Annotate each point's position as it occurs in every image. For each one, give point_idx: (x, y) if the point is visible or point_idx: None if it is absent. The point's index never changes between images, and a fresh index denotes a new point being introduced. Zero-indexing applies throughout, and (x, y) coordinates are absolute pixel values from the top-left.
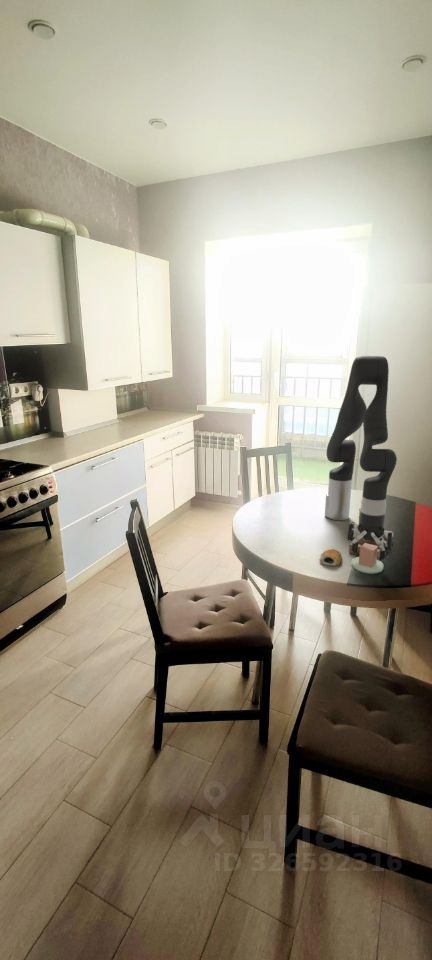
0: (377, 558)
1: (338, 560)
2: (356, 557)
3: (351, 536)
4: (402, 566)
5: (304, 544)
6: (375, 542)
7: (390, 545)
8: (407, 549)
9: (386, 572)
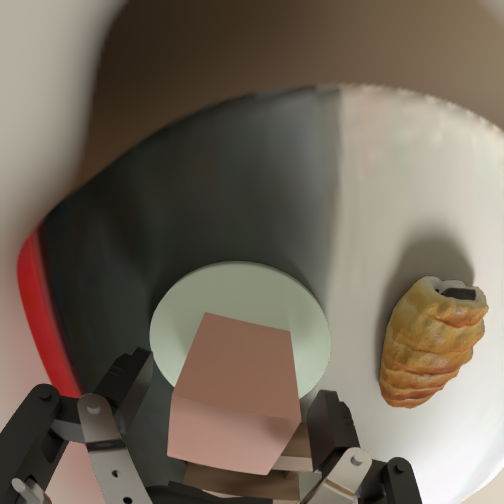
0: None
1: (412, 313)
2: (303, 394)
3: (377, 492)
4: (96, 373)
5: (481, 399)
6: (224, 488)
7: (22, 413)
8: None
9: (134, 306)
